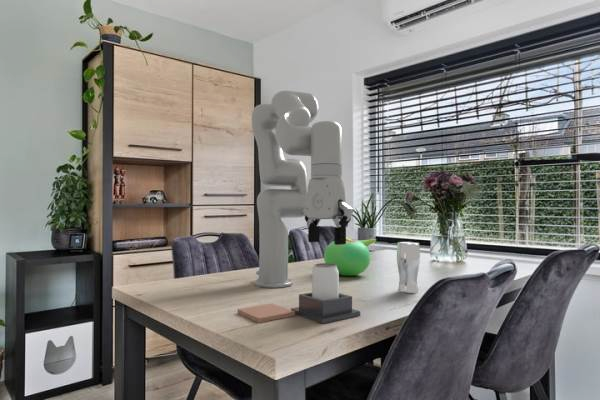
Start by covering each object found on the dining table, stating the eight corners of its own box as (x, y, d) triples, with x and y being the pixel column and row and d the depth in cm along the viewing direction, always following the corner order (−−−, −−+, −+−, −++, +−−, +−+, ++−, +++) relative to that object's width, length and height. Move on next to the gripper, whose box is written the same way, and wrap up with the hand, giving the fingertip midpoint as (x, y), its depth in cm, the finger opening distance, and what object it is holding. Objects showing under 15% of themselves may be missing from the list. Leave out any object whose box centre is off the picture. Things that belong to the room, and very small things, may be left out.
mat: (237, 313, 101) (237, 309, 101) (271, 307, 107) (271, 303, 107) (259, 322, 93) (259, 318, 93) (294, 315, 99) (294, 311, 99)
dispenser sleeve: (290, 312, 102) (291, 294, 102) (327, 305, 109) (327, 288, 109) (322, 323, 92) (322, 303, 92) (360, 315, 100) (360, 296, 100)
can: (310, 310, 104) (310, 263, 104) (336, 310, 104) (336, 262, 104) (313, 317, 97) (313, 266, 97) (340, 317, 98) (341, 266, 98)
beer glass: (420, 294, 124) (421, 244, 124) (396, 293, 125) (397, 243, 125) (418, 289, 130) (419, 242, 131) (396, 288, 132) (396, 241, 132)
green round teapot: (315, 274, 157) (315, 235, 157) (344, 269, 169) (344, 233, 169) (351, 281, 144) (352, 239, 144) (380, 275, 155) (381, 236, 156)
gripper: (293, 174, 106) (293, 241, 105) (338, 169, 92) (339, 246, 91) (315, 176, 110) (315, 240, 110) (362, 171, 96) (363, 244, 96)
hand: (326, 243), depth 101 cm, fingers open, 9 cm apart
